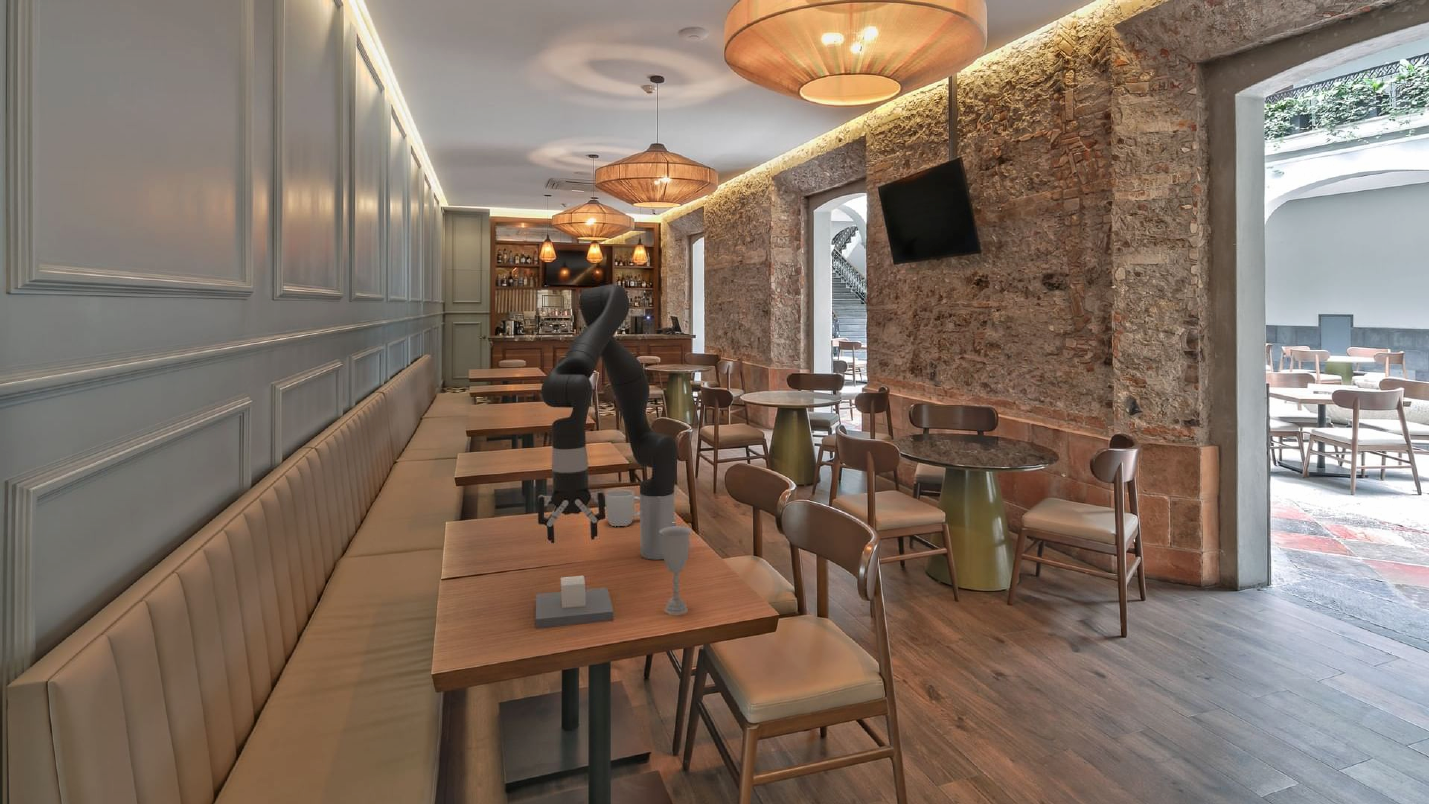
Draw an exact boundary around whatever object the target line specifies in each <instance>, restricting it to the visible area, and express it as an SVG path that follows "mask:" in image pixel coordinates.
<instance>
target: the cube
mask: <svg viewBox="0 0 1429 804" xmlns="http://www.w3.org/2000/svg"><path fill="white" fill-rule="evenodd" d="M585 590H586V580H585V575H575V576H566V577H560V592H561V600H562V608H568V607H579V606H586V597H585Z"/></svg>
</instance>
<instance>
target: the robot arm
mask: <svg viewBox="0 0 1429 804" xmlns="http://www.w3.org/2000/svg"><path fill="white" fill-rule="evenodd" d="M578 302H579V303H578V304H579V309H580V312H581V316H582V318H583V321H584V323H585V325H586V328H585V329H584V330H583V331H581V332H580V333H579V334H578V335H577V336H576V337H575V338H574V340H572V342H571V344H570V346H569V348H568V350H567V352H566V353H565V356H564V358H563V359H562V360H561V361H560V362H559V363H557V365H556V366H554V367H553V368H552V369H551V370H550V371H549V373H548V374H547V375H546V377H545V378H544V379H543V382H542V384H541V388H540V395H541V399H542V401H543V403H545V405H547V406H548V407H551V408H570V409H572V410H571V413H570V415H569V416H568V417H567V416H566V417H562V418H557V419H556V420H554V421H553V422H552V423H551V444H552V446H551V447H552V452H551V453H552V454H551V472H552V473H551V474H552V493H551V495H544V494H539V495H538V499H537V500H538V503H537V504H538V505H537V506H538V507H537V508H538V510H537V524H539V525H541V526H542V525H544V526H546V530H547V532H546V533H547V540H548V542H550V544H555V527H554V523H555V522H556V520H557V519H558V518H559V517H560V516H561V514H562V515H564V516H566V515H567V516H569V515H571V514H573V515H578V514H580V513H583V514H584V515H585V516H586V517H587V519H589V520H590V521H589V522H590V523H589V526H590V528H589V529H590V539H591V540H592V541H593V540H595V539H596V538H595V537H598V523H599V522H600V521H601V520H602V521H603V520H605V519H606V518H607V515H606V505H605V495H604V493H603V490H600V489H598V490H597V491H595V492H590V490H589V462H588V451H587V446H586V445H587V440H586V439H587V437H586V426H587V418H588V414H589V409H590V405H591V403H592V402H591V401H592V396H593V384H592V382H591V381H590V378H591V377H592V375H593V374H594V372H595V369H596V367H597V364H598V362H599V360H600V358H601V360H602V363H603V366H604V369H605V372H606V374H607V377H608V381H609V384H610V386H611V390H612V391H613V395H614V397H615V399H616V402H617V405H618V407H619V411H620V413H621V416H622V419H623V422H624V424H625V429H626V433H627V438H628V441H629V445H630V450H631V453H632V455H633V458H634V459H635V462H636V463H638V464H639V465H640V466H642V467H647V468H650V469H651V470H652V471H651V477H650V478H648V479H644V480H643V481H640V484H639V497H640V502H639V510H640V515H639V523H640V525H639V526H640V529H639V530H640V556H641V557H642V558H644V559H647V560H664V557H663V555H662V536H661V534H660V532H659V531H660V530H661V529H663V528H666V527H672V526H677V521H676V520H675V486H676V482H677V479H678V476H677V475H678V457H679V456H678V455H679V454H678V445H677V441H676V440H675V439H674V438H673V436H671V435H669V434H664V433H663V434H662V433H657V432H656V433H655V432H653V431H652V429H651V426H650V424H649V421H648V418H647V407H648V404H649V397H650V390H651V388H650V384H649V381H648V378H647V375H646V372H645V369H644V367H643V365H642V363H641V362H640V360H639V359H638V358H637V357H636V356H635V355H634V354H633V353H632V352H631V351H629V350H628V349H627V348H626V347H625V346H624V345H622V344H621V343H620V342H619V341H618V340H617V339H616V337H615V336H614V335H615V334H616V332H618V330H619V329H620V327H621V326H622V324H623V323H624V322H625V321H626V318H627V317H628V316H629V315H628V314H629V311H630V299H629V295H628V293H627V291H626V289H625V288H624V287H623V286H622V285H620V284H616V283H615V284H614V283H612V284H611V283H610V284H607V285H605V284H604V285H600V286H596V287H591V288H587V289H584V290H582V291H581V292H580V294H579V298H578ZM592 499H593V500H594V502H595V503H597V506H598V513H596V514H595V513H594V512H593V511H592V509H591V508H590V507H589V506H588V503H589V502H590V500H592ZM549 502H552V504H553V505H554V506H555V507H554V509H553V510H552V511H551V513H550V515H549V516H548V517H545V507H547V506H548V505H549Z"/></svg>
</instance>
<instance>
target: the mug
mask: <svg viewBox="0 0 1429 804" xmlns="http://www.w3.org/2000/svg"><path fill="white" fill-rule="evenodd" d="M635 500H636V501H638V502H639V503H640V496H635V493H634V491H632V490H629V489H615V490H614V489H613V490H609V491H606V493H605V495H604V505H605V514H606V518H607V521H608V523H609V525H610V526H611V527H613V526H615V528H620V527H619V526H625V527H627V526H626V525H629V524H630V525H631V524H632V522H633V519H634V518H636V517H640V509H638V511H637V512H635ZM630 525H629V526H630ZM616 526H618V527H616Z"/></svg>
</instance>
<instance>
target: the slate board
mask: <svg viewBox="0 0 1429 804" xmlns="http://www.w3.org/2000/svg"><path fill="white" fill-rule="evenodd" d="M585 597H586V606H579V607H568V608H562V600H561V591H557V592H546V593H545V592H544V593H536V594H535V629H543V628H554V627H561V626H572V625H574V626H575V625H582V624H591V623H593V624H594V623H601V622H613V621H614V609H613V604H612V601H611V597H610V593H609V590H608V587H600V588H599V587H598V588H590V589H588V588H587V589H585Z"/></svg>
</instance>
